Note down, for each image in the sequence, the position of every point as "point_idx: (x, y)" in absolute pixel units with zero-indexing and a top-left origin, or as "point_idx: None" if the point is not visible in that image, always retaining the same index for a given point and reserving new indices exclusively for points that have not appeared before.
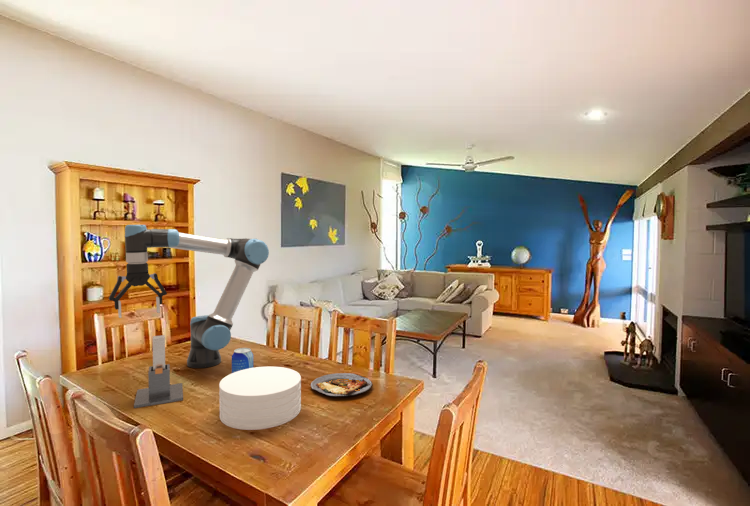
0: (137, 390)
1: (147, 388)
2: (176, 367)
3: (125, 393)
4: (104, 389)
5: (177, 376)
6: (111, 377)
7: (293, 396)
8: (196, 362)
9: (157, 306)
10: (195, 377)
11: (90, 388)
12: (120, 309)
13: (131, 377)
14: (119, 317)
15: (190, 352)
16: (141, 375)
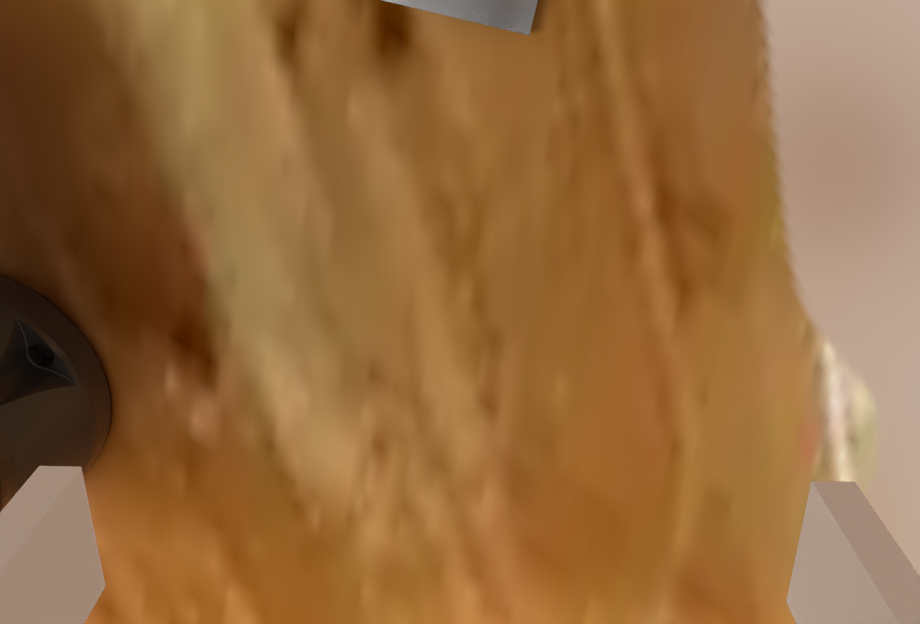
0: (533, 10)
1: (458, 5)
2: (190, 412)
3: (610, 61)
4: (714, 252)
5: (205, 204)
6: (621, 470)
7: None
8: (23, 324)
9: (10, 596)
10: (74, 87)
11: (784, 333)
12: (914, 620)
13: (507, 390)
14: (855, 491)
15: (31, 448)
16: (440, 390)
